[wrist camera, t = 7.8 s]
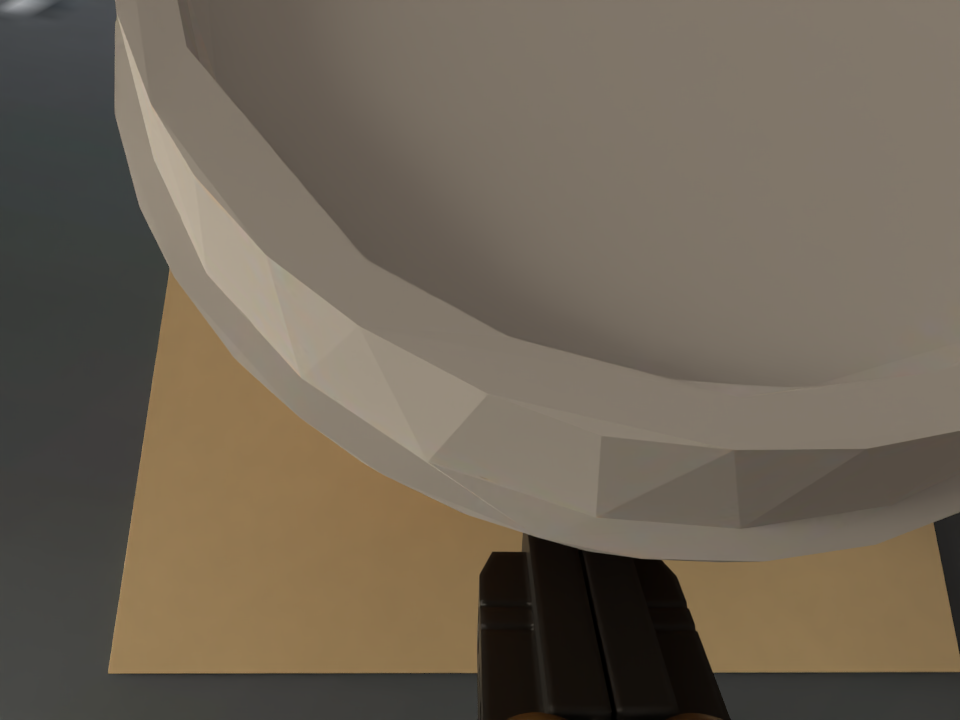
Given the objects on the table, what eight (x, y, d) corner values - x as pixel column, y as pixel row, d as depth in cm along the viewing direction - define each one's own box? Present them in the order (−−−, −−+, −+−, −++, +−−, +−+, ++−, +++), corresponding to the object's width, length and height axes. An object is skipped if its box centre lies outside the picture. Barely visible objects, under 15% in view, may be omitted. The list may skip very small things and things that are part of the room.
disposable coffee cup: (810, 313, 18) (1456, -250, 6) (631, 696, 15) (1230, 943, 3) (462, 134, 19) (474, -596, 8) (235, 453, 16) (-292, 43, 5)
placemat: (109, 673, 15) (107, 673, 15) (271, -388, 26) (270, -393, 26) (960, 671, 15) (963, 672, 15) (755, -368, 26) (756, -372, 26)
